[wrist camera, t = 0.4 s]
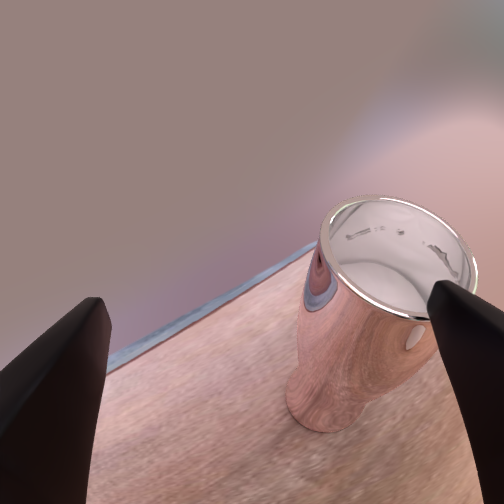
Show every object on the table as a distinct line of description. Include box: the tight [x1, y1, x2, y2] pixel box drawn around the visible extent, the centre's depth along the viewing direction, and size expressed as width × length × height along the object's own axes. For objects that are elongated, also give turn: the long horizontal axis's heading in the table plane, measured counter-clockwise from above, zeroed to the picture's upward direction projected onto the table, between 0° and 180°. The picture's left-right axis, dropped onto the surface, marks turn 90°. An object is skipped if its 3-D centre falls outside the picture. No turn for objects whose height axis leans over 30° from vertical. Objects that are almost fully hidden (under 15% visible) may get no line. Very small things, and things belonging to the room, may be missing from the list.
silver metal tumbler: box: [285, 195, 478, 432], centre depth 16 cm, size 7×7×15 cm
